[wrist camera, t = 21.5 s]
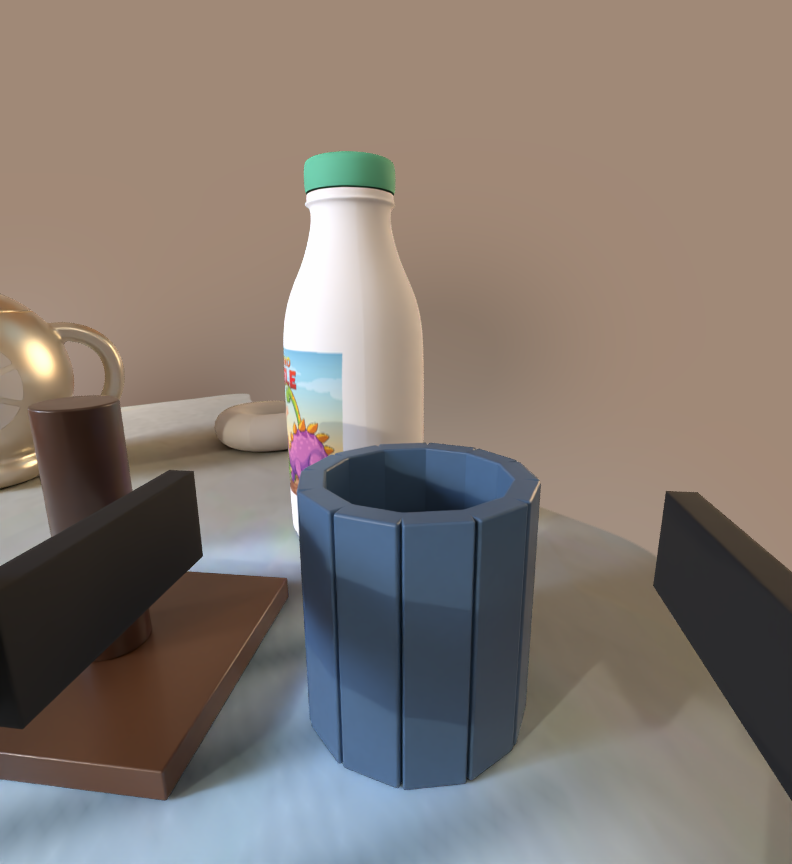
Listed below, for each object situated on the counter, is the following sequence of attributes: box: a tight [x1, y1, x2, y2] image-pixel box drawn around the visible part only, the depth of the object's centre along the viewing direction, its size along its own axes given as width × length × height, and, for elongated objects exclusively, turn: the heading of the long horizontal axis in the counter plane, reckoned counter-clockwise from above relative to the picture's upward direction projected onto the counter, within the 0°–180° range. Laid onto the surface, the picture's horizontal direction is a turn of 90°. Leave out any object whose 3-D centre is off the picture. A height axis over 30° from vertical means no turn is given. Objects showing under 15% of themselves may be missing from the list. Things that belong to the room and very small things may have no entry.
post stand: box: [0, 395, 288, 800], centre depth 18 cm, size 10×10×10 cm
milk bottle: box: [284, 151, 424, 535], centre depth 28 cm, size 8×8×20 cm
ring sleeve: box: [297, 443, 541, 790], centre depth 17 cm, size 7×7×8 cm
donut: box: [215, 401, 288, 452], centre depth 49 cm, size 10×4×10 cm
